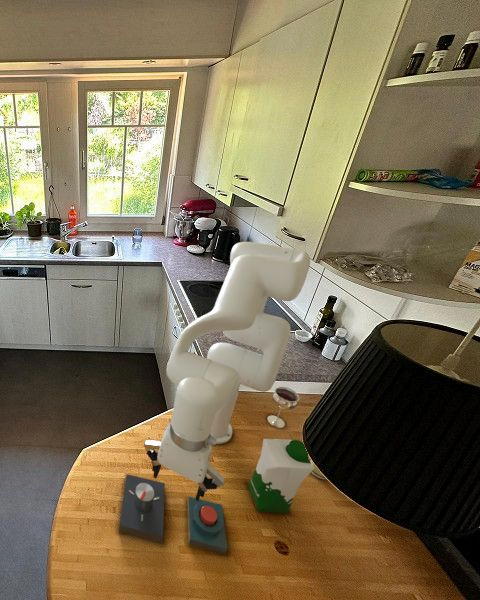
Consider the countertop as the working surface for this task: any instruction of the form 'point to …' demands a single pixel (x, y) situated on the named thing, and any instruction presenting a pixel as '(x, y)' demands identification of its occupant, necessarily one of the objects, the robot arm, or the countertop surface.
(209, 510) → the button
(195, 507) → the teal button housing
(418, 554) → the countertop surface
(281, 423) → the wineglass
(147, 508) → the rotary knob
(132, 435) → the countertop surface
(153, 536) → the plate
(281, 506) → the milk carton
